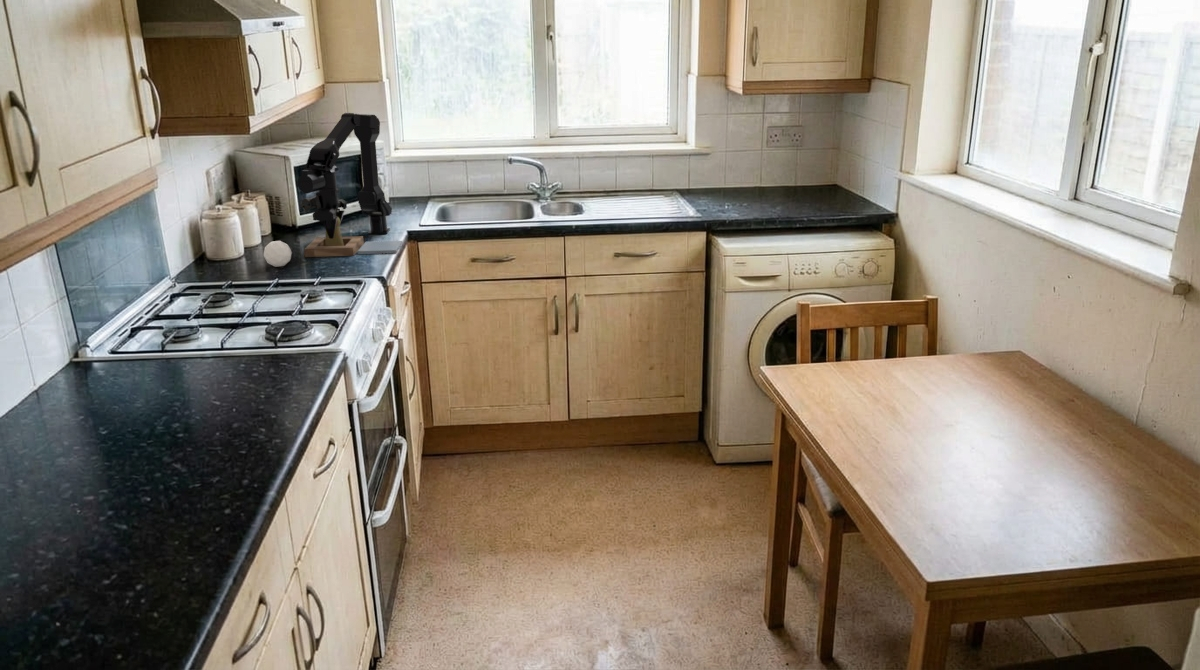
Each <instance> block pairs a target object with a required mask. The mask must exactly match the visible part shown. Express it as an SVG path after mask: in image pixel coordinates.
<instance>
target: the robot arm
mask: <svg viewBox="0 0 1200 670" xmlns="http://www.w3.org/2000/svg"><path fill="white" fill-rule="evenodd" d="M380 126H381V122H380V119H379V117H377V115H375V114H363V113H362V114H359V113H356V112H344V113H342V114H341V116H340V119H339V120H338V121H337V123H336V124H335V125H334V127H333V128H332V130H331V131H330V132H329V133H328V135H327V136H326V138H325V139H323V140H321V141H319V142H317V143H316V144H314V146H312V147H310V148H311V149H310V151H309V155H308V157H307V161H306V164H305V167H304V169H303V170H301V171H300V172H301V175H299V176H298V178H297V181H296V185H297V187H298V189H299V191H301V193H304V194H311V193H314V192H315V195H314V196H311V197H309V198H308V197H305V198H302V199H301V201H300V203H299V204H300V209H301V210H303V212H304V213H308V212H309V211H311V210H313V209H316V210H315V211H314V212H313V213H312V220H313V221H318V222H320V223H322V225H323V227H324V229H325V232H326V231H327V234H328V236H329V238H330V239H332V238H333V237H334V233H335V228H336V224H337V219H338V217H339V219H340V225H339V228H340V227H341V223H342V220H343V218H344V214H345V210H346V209H347V208H348V206H347V201H346V200H344V199H342V198H341V199H340V198H339V195H338V194H339V193H340V189H339V188H338V187H337V178H336V172H337V171H339V170H340V169H339V167H337V166H336V165H335V164H336V163H337V162H338V159H339V157H340V149H341V148H342V146H343V144H344V143H345V141H347V139H348V138H349V136H350V135H351V133H352V132H353V134H354V136H355V137H356V138H357V140H358V141H359V145H360V157H361V158H360V159H361V169H362V181H363V184H362V185H363V186H362V188H361V190H360V191H358V193H357V196H358V204H359V208H360V211H361V212H362V215H363V216H368V220H369V229H370V230H369V231H368V232H367V234H368V235H387V234H388V233H389V232H390V231H391V228H389V227H388V223H387V220H388V219H387V217H388V216H391V215H392V212H393V208H392V206H391V205H390V203H389V202H388V201H387V200H386V196H385V193H384V191H383V189H382V188H381V186H380V184H379V173H378V172H379V171H378V170H379V169H378V161H377V160H378V158H377V149H376V148H377V145H376V142H377V140H378V137H379V135H380V129H381V127H380ZM340 208H341V209H342V210H340ZM336 216H337V217H336Z"/></svg>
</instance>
